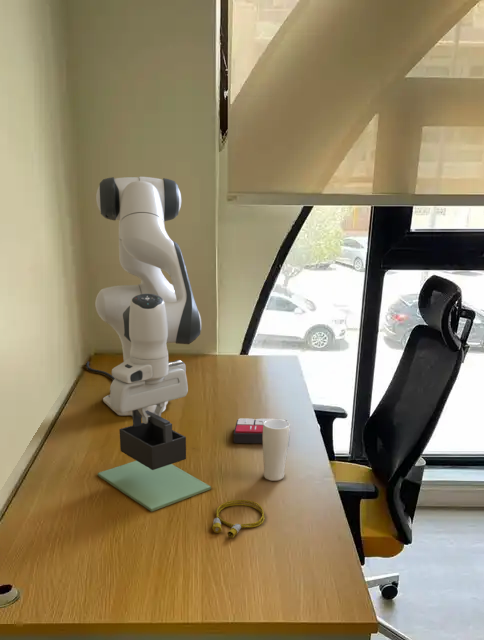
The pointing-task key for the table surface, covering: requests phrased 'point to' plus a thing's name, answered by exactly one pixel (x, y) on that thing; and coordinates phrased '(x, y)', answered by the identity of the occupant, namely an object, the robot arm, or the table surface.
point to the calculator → (249, 430)
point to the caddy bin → (152, 441)
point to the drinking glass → (275, 448)
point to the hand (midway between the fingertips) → (151, 421)
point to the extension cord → (235, 527)
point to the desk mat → (154, 484)
